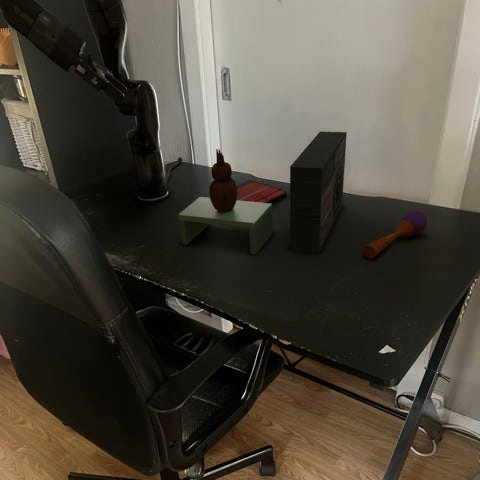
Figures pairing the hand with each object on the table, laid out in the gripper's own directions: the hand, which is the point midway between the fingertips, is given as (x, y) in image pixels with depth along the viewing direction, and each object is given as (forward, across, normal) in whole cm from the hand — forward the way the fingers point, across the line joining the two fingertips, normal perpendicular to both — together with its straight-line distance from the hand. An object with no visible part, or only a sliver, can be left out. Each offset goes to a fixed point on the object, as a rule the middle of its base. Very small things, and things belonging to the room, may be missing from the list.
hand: (123, 95), depth 107 cm
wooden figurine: (+33, -6, +5) cm, 34 cm away
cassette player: (+55, -5, -7) cm, 56 cm away
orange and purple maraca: (+66, -20, -17) cm, 71 cm away
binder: (+44, +18, +4) cm, 48 cm away
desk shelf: (+38, -6, +10) cm, 40 cm away
